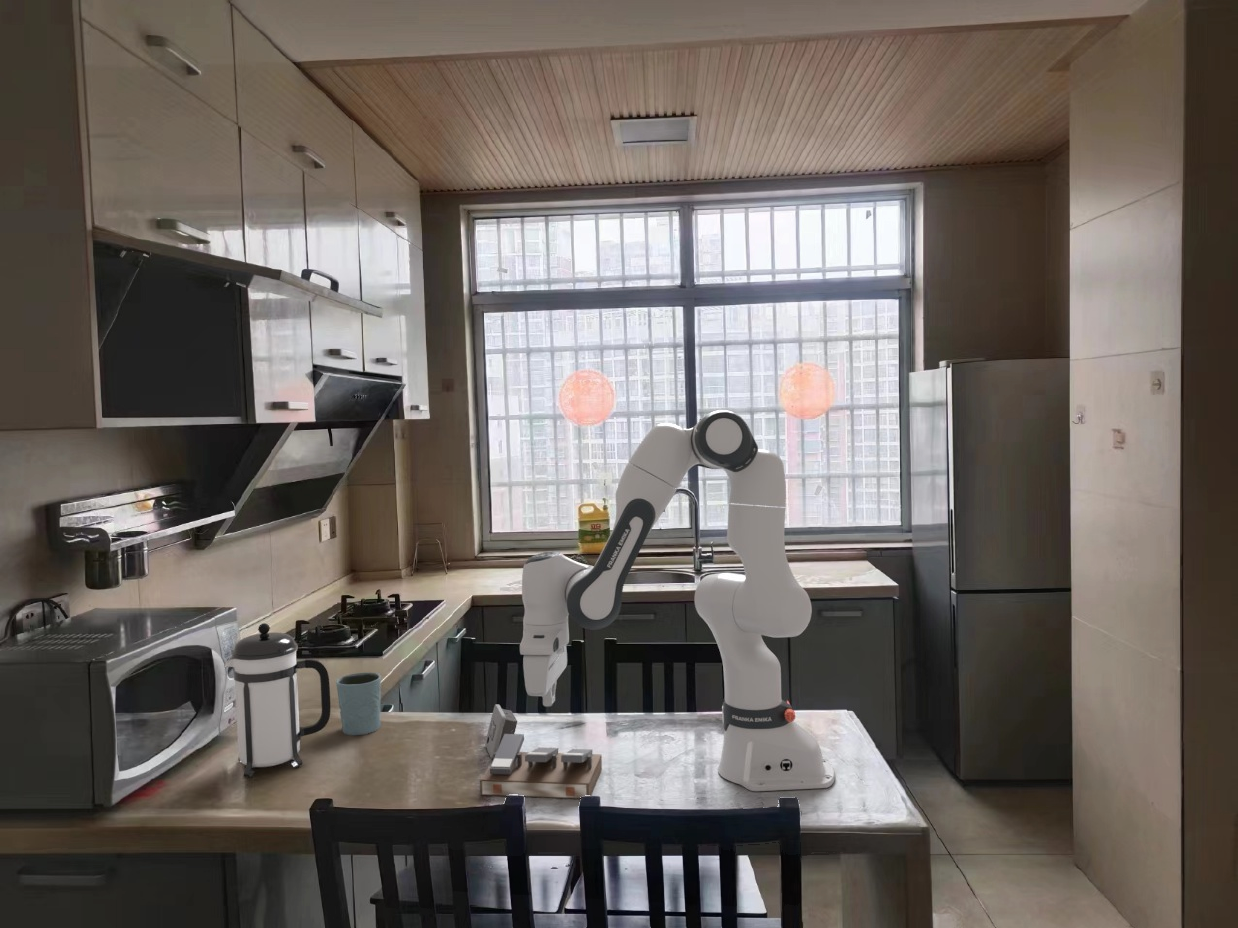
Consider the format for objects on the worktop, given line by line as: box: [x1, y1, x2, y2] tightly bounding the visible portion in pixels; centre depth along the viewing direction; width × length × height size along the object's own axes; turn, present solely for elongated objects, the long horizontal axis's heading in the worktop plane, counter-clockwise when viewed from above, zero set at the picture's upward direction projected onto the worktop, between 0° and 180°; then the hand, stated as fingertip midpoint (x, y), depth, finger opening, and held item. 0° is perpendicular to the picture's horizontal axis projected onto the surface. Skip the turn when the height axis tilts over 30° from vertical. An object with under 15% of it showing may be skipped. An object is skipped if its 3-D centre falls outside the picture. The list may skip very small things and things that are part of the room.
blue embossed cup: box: [335, 672, 382, 736], centre depth 201 cm, size 10×10×12 cm
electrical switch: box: [484, 704, 518, 760], centre depth 185 cm, size 9×5×9 cm, turn 17°
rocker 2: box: [561, 748, 593, 763], centre depth 167 cm, size 4×11×1 cm, turn 172°
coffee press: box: [224, 623, 331, 779], centre depth 181 cm, size 17×16×30 cm
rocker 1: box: [489, 733, 525, 774], centre depth 169 cm, size 4×11×1 cm, turn 172°
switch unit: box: [479, 751, 603, 800], centre depth 168 cm, size 21×14×5 cm
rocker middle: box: [525, 747, 559, 762], centre depth 168 cm, size 4×11×1 cm, turn 172°
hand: (549, 704), depth 170 cm, fingers closed
